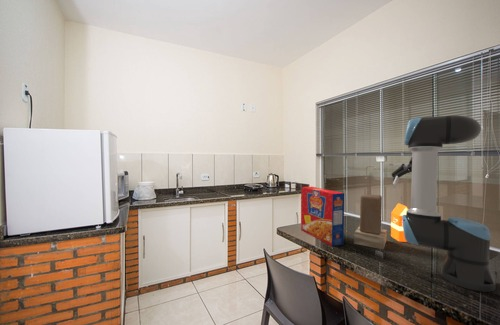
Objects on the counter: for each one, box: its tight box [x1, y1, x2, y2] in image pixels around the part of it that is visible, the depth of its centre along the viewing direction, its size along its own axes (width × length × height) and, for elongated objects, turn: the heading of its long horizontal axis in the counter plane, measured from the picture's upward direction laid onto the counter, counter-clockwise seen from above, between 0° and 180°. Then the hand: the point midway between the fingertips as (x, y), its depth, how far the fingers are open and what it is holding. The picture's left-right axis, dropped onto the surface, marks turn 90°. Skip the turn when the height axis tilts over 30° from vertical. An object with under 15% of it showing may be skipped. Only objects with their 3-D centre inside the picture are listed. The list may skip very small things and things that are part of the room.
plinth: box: [353, 225, 387, 250], centre depth 127 cm, size 16×14×6 cm
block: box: [359, 193, 383, 235], centre depth 127 cm, size 10×10×20 cm
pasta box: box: [300, 186, 345, 247], centre depth 135 cm, size 28×8×28 cm, turn 22°
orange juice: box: [390, 202, 410, 243], centre depth 132 cm, size 8×9×20 cm
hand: (407, 187), depth 122 cm, fingers open, 13 cm apart
